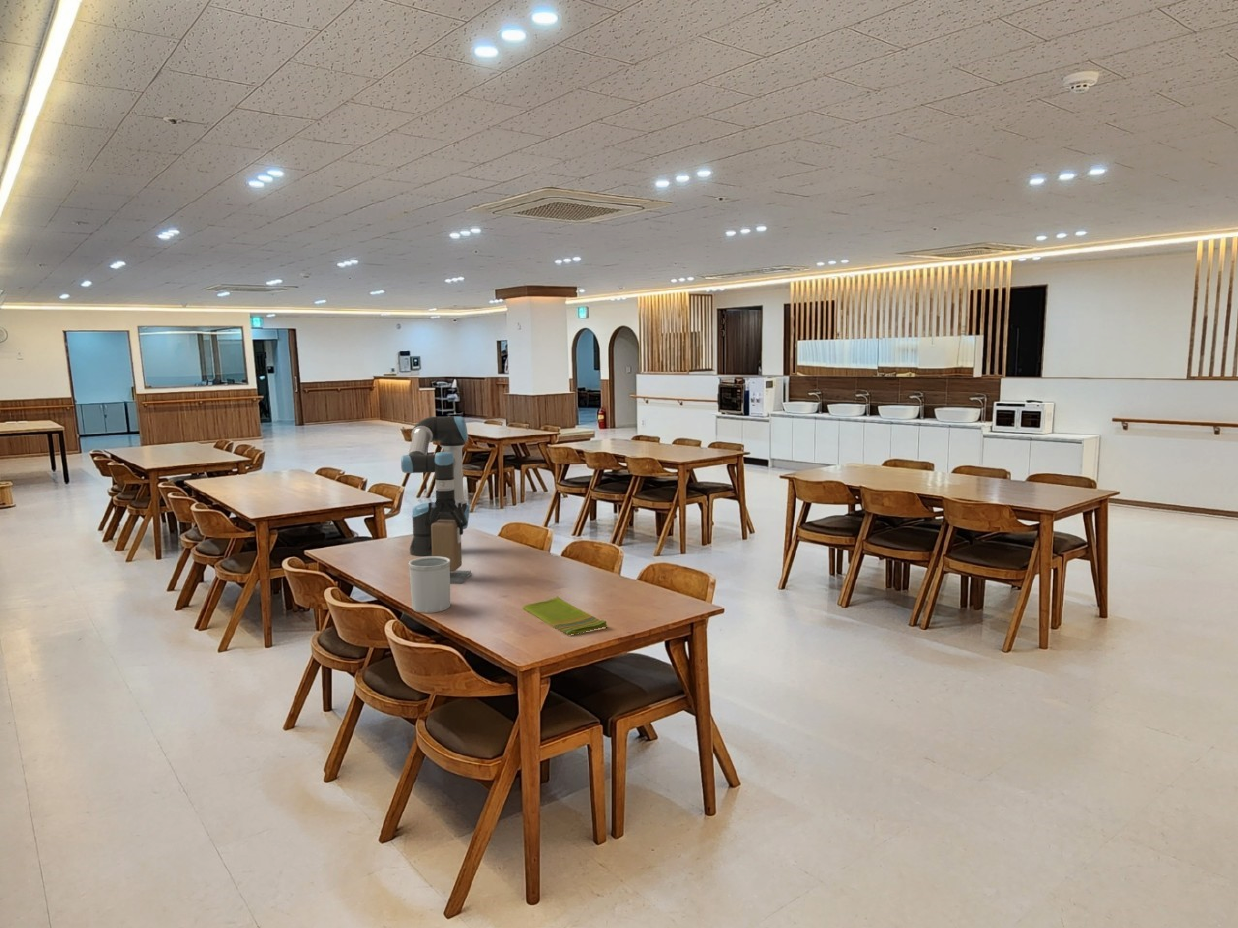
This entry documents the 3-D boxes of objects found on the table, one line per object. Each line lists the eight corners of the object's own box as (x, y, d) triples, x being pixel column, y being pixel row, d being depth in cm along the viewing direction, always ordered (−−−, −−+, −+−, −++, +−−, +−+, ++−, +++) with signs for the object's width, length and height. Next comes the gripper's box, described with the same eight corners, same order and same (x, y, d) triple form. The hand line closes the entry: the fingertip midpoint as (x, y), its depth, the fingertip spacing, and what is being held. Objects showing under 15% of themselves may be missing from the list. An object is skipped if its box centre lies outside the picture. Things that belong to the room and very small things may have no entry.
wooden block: (462, 565, 335) (461, 519, 332) (455, 571, 325) (454, 524, 322) (439, 565, 336) (438, 519, 333) (431, 571, 326) (430, 523, 323)
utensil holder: (430, 616, 281) (429, 568, 279) (401, 609, 289) (399, 562, 286) (459, 605, 293) (458, 559, 291) (431, 599, 301) (429, 554, 299)
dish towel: (568, 638, 259) (568, 628, 259) (521, 610, 289) (521, 601, 289) (608, 630, 267) (608, 620, 267) (559, 603, 297) (559, 595, 297)
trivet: (434, 572, 339) (434, 569, 339) (471, 573, 338) (471, 570, 338) (423, 582, 323) (422, 579, 323) (461, 583, 322) (461, 580, 322)
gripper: (415, 490, 323) (417, 543, 326) (469, 491, 322) (471, 544, 324) (420, 487, 331) (422, 539, 333) (474, 488, 329) (475, 540, 332)
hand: (446, 542), depth 329 cm, fingers closed on wooden block, 10 cm apart
